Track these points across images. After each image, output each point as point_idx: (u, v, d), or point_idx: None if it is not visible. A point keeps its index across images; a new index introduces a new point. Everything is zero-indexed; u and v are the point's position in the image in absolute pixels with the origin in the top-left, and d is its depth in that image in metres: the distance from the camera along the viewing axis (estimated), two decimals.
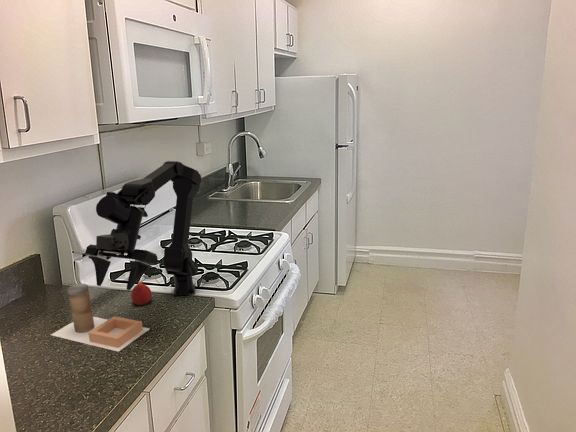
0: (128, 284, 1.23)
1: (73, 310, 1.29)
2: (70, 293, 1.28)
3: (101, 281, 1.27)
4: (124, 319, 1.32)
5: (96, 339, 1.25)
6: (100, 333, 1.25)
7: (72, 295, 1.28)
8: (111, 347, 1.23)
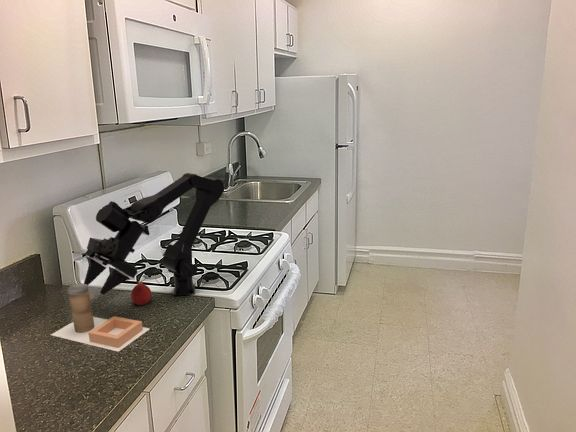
0: (102, 288, 1.30)
1: (73, 310, 1.29)
2: (70, 293, 1.28)
3: (89, 282, 1.37)
4: (124, 319, 1.32)
5: (96, 339, 1.25)
6: (100, 333, 1.25)
7: (72, 295, 1.28)
8: (111, 347, 1.23)
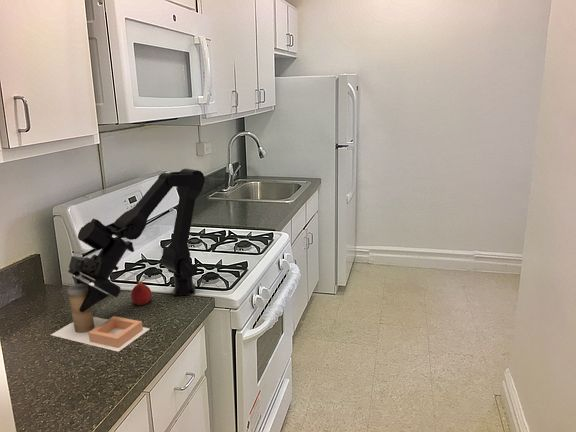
0: (81, 306, 1.28)
1: (73, 310, 1.29)
2: (70, 293, 1.28)
3: None
4: (124, 319, 1.32)
5: (96, 339, 1.25)
6: (100, 333, 1.25)
7: (72, 295, 1.28)
8: (111, 347, 1.23)
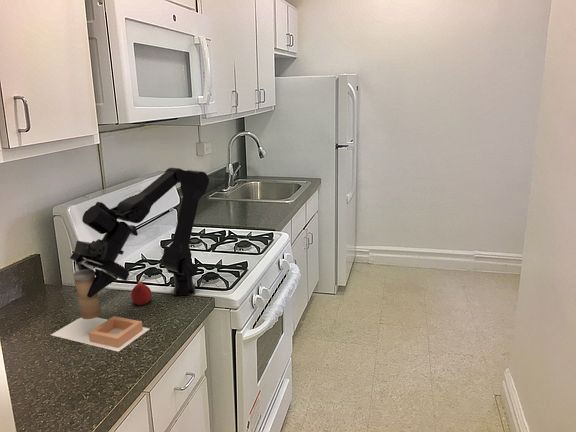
0: (89, 291, 1.25)
1: (80, 296, 1.26)
2: (77, 278, 1.25)
3: None
4: (124, 319, 1.32)
5: (96, 339, 1.25)
6: (100, 333, 1.25)
7: (79, 280, 1.25)
8: (111, 347, 1.23)
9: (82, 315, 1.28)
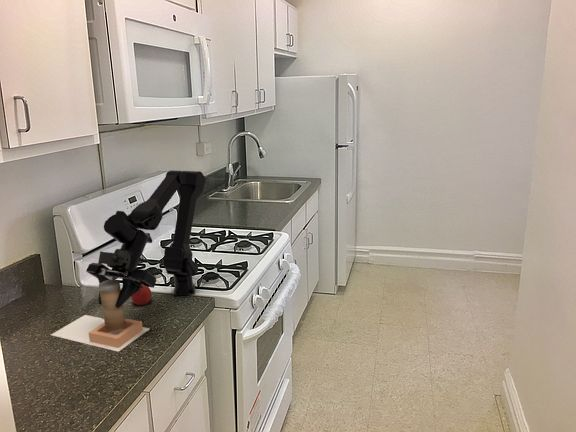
0: (117, 301, 1.24)
1: (107, 307, 1.24)
2: (104, 289, 1.22)
3: None
4: None
5: (96, 339, 1.25)
6: (100, 333, 1.25)
7: (107, 291, 1.23)
8: (111, 347, 1.23)
9: (109, 327, 1.25)
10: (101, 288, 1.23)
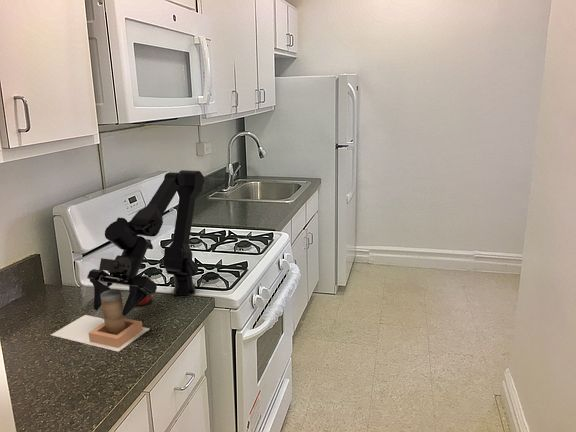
0: (124, 309, 1.24)
1: (109, 317, 1.25)
2: (106, 300, 1.23)
3: (98, 306, 1.28)
4: None
5: (96, 339, 1.25)
6: (100, 333, 1.25)
7: (109, 301, 1.23)
8: (111, 347, 1.23)
9: None
10: (103, 298, 1.23)
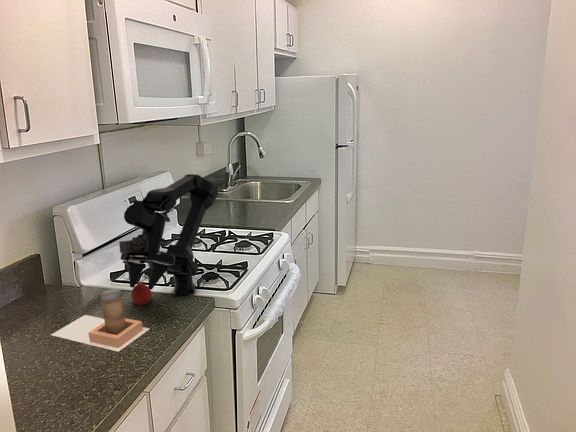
0: (149, 284, 1.32)
1: (109, 317, 1.25)
2: (106, 299, 1.23)
3: (134, 283, 1.39)
4: None
5: (96, 339, 1.25)
6: (100, 333, 1.25)
7: (109, 301, 1.23)
8: (111, 347, 1.23)
9: None
10: (103, 298, 1.24)
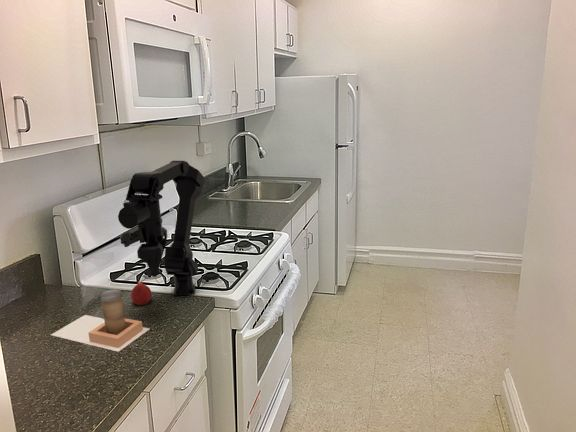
0: None
1: (109, 317, 1.25)
2: (106, 300, 1.23)
3: None
4: None
5: (96, 339, 1.25)
6: (100, 333, 1.25)
7: (109, 301, 1.23)
8: (111, 347, 1.23)
9: None
10: (103, 298, 1.23)
